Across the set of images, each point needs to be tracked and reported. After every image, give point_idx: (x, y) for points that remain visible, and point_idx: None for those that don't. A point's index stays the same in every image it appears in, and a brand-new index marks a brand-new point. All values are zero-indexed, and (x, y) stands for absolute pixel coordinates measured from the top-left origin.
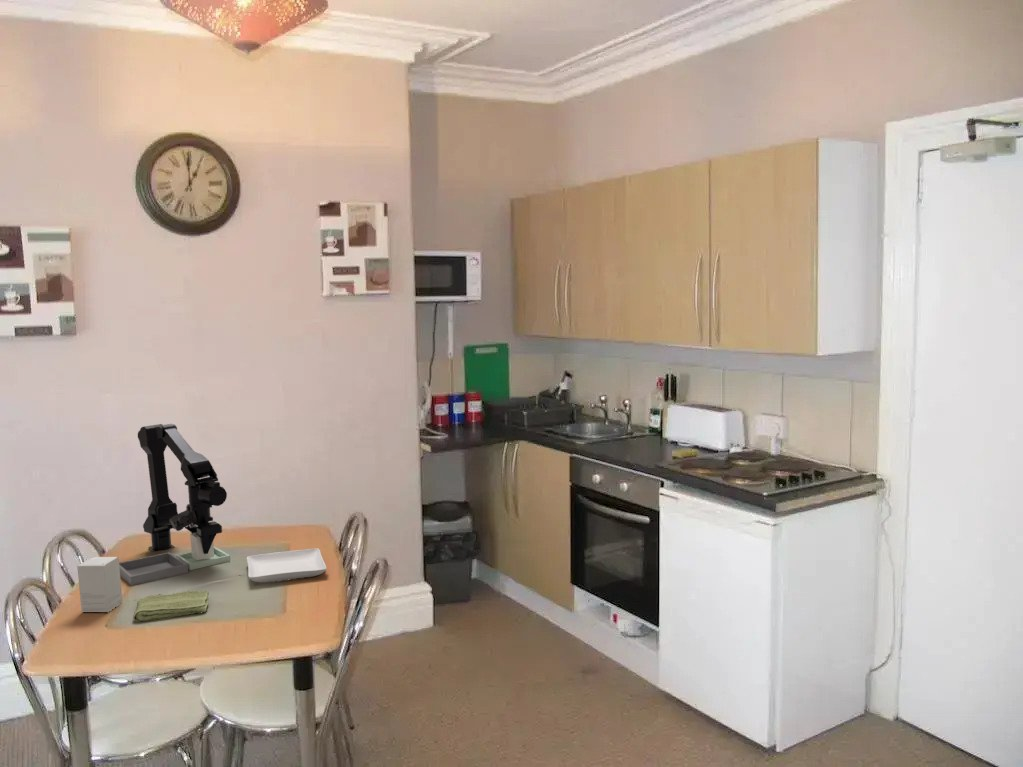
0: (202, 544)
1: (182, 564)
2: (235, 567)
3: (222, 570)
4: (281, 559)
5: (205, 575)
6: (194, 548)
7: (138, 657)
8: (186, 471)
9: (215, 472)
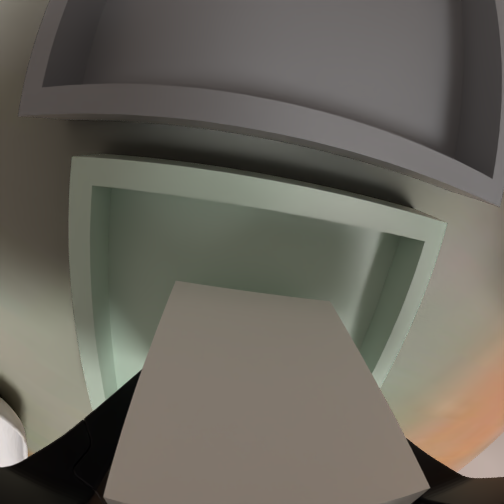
0: (88, 422)
1: (44, 76)
2: (28, 365)
3: (13, 307)
4: (14, 451)
5: None
6: (244, 354)
7: None
8: None
9: None
